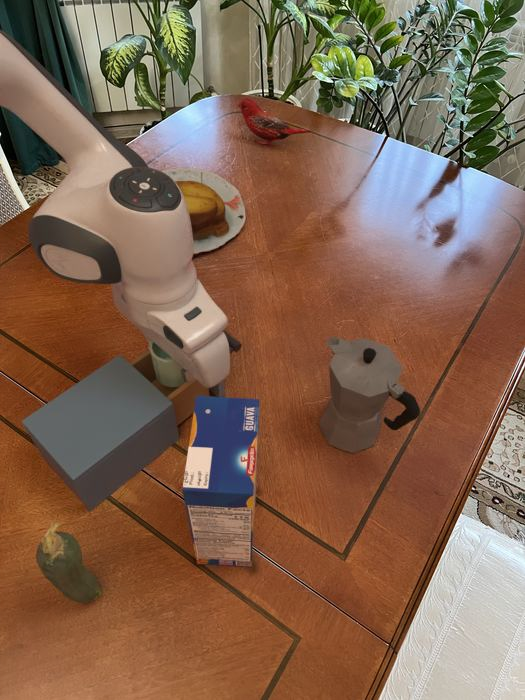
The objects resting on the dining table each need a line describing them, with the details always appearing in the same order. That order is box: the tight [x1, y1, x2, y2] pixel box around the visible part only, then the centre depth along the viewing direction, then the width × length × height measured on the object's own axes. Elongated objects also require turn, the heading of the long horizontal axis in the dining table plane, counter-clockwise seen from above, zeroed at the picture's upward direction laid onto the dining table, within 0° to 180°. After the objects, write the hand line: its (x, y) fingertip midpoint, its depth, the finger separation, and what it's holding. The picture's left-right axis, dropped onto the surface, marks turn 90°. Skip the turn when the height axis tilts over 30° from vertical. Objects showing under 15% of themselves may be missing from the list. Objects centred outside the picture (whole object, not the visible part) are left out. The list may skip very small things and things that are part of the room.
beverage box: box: [181, 395, 260, 568], centre depth 67 cm, size 7×11×22 cm, turn 177°
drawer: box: [128, 329, 243, 427], centre depth 84 cm, size 20×10×8 cm, turn 136°
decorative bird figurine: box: [236, 97, 312, 147], centre depth 127 cm, size 3×18×10 cm, turn 67°
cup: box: [148, 340, 187, 387], centre depth 80 cm, size 6×6×6 cm
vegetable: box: [35, 520, 102, 605], centre depth 62 cm, size 4×4×20 cm
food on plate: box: [160, 167, 247, 255], centre depth 112 cm, size 25×25×7 cm
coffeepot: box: [318, 336, 421, 454], centre depth 78 cm, size 15×9×18 cm, turn 43°
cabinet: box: [21, 354, 180, 512], centre depth 78 cm, size 16×12×10 cm
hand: (173, 362), depth 81 cm, fingers closed on cup, 6 cm apart
